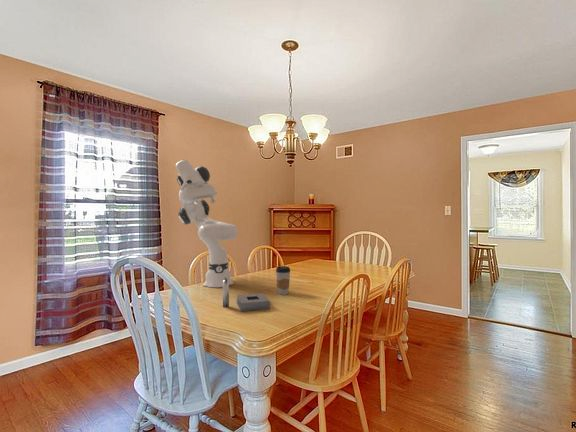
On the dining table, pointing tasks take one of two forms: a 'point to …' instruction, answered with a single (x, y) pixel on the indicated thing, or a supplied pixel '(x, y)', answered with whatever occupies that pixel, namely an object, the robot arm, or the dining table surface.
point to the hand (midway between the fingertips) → (207, 203)
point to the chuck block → (253, 302)
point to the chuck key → (225, 292)
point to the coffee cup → (283, 279)
